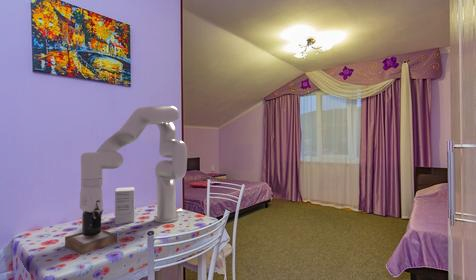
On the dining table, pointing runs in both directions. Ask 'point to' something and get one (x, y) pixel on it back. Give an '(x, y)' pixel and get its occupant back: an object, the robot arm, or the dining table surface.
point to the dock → (90, 241)
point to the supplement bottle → (89, 224)
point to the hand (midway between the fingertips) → (92, 225)
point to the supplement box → (124, 205)
